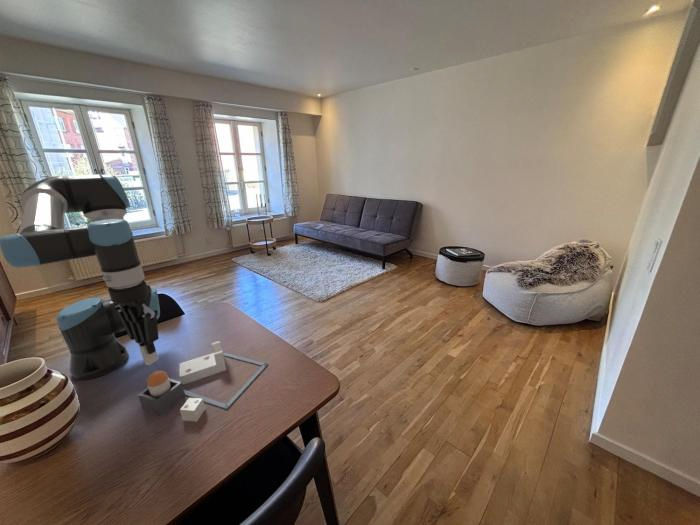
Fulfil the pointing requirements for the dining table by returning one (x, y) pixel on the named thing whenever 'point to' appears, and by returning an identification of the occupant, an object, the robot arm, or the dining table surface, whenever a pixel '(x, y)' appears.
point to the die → (192, 409)
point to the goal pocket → (226, 406)
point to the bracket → (203, 365)
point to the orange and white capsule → (158, 384)
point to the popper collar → (162, 398)
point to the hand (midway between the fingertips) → (151, 361)
